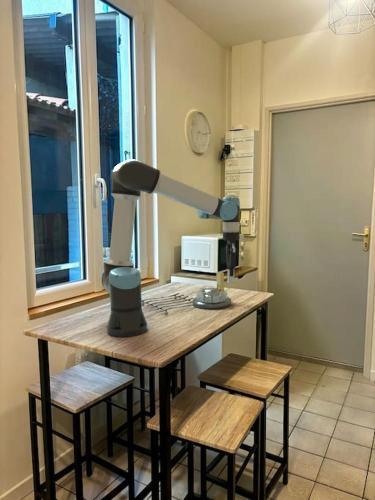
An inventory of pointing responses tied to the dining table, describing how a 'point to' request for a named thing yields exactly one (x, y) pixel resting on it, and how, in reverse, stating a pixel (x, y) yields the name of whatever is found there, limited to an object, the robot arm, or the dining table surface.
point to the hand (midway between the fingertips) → (230, 282)
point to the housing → (212, 305)
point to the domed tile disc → (218, 298)
